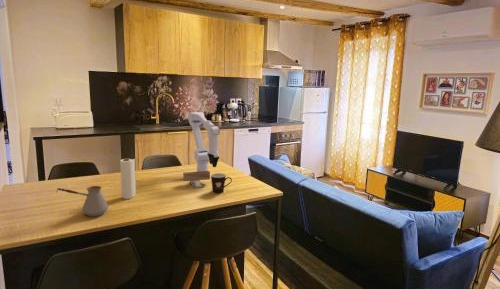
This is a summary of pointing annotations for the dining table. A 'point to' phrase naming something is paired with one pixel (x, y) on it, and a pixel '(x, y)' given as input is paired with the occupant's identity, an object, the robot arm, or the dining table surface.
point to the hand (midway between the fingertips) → (213, 165)
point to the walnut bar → (196, 175)
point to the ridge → (196, 184)
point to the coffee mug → (218, 182)
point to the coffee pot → (92, 201)
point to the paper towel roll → (128, 178)
